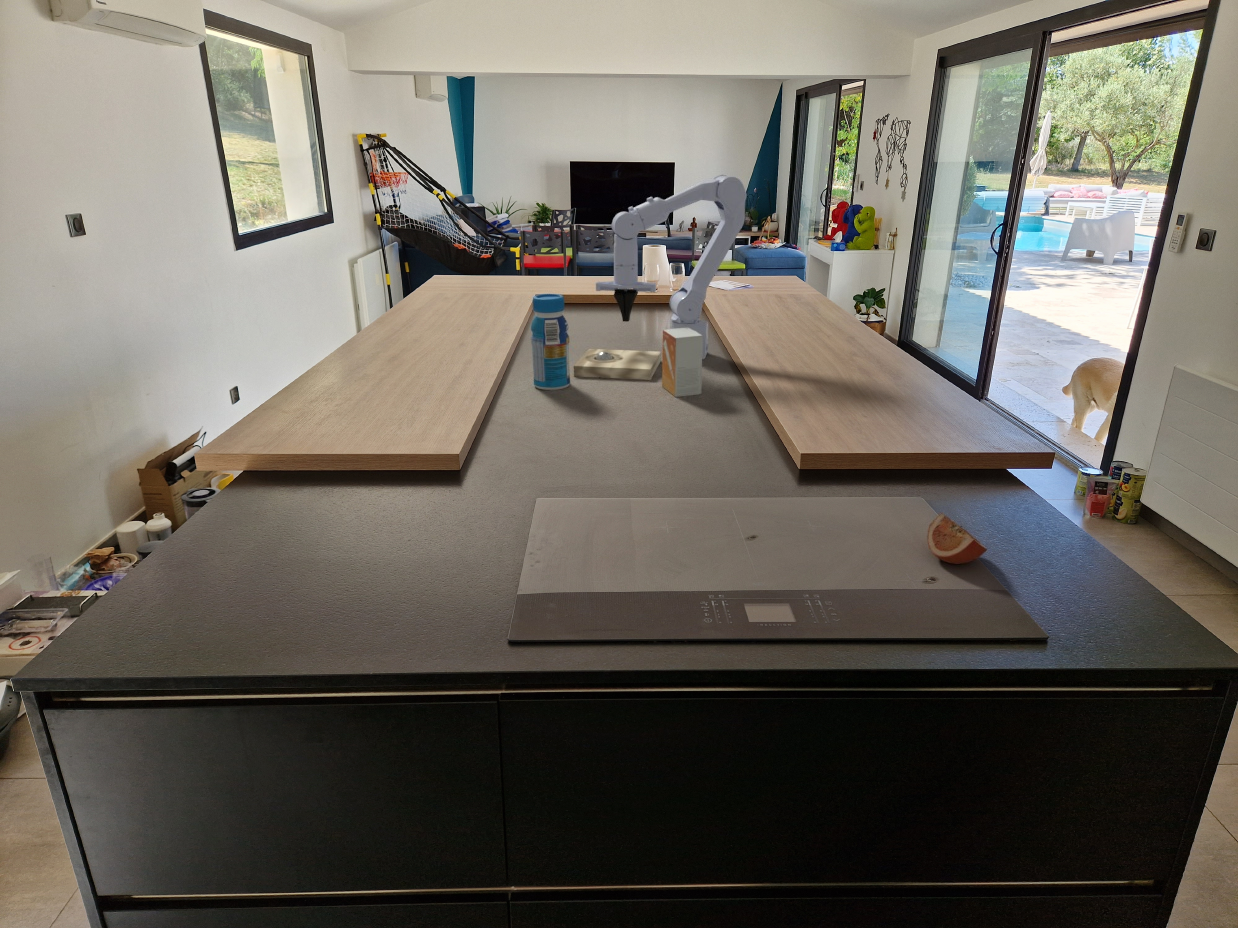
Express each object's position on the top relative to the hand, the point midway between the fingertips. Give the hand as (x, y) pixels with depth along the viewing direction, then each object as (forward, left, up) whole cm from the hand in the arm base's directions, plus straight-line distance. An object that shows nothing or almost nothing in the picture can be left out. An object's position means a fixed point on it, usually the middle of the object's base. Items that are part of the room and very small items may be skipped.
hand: (626, 320), depth 200 cm
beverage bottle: (+12, +26, -10) cm, 30 cm away
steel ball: (+4, +10, -7) cm, 13 cm away
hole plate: (0, +10, -9) cm, 14 cm away
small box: (-17, +25, -10) cm, 32 cm away
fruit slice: (-62, +93, -10) cm, 112 cm away
